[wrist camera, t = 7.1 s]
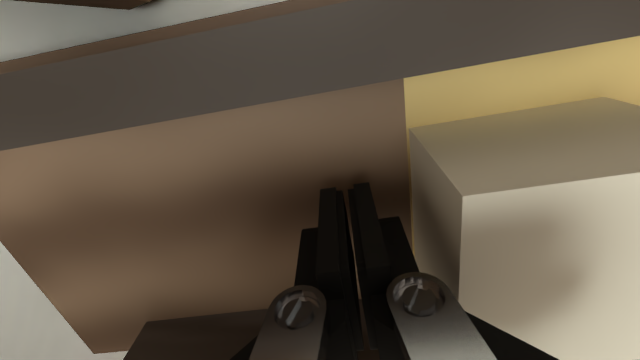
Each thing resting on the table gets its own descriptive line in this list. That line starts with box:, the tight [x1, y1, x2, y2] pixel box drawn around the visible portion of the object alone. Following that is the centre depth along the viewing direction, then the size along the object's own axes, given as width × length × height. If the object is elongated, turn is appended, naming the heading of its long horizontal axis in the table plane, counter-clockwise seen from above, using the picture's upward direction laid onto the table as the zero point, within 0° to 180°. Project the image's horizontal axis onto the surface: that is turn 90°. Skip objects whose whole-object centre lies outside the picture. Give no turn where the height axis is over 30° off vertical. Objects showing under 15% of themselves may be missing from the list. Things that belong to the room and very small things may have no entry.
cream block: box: [409, 97, 640, 360], centre depth 9 cm, size 6×6×4 cm
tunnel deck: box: [0, 0, 640, 360], centre depth 11 cm, size 14×35×6 cm, turn 100°
